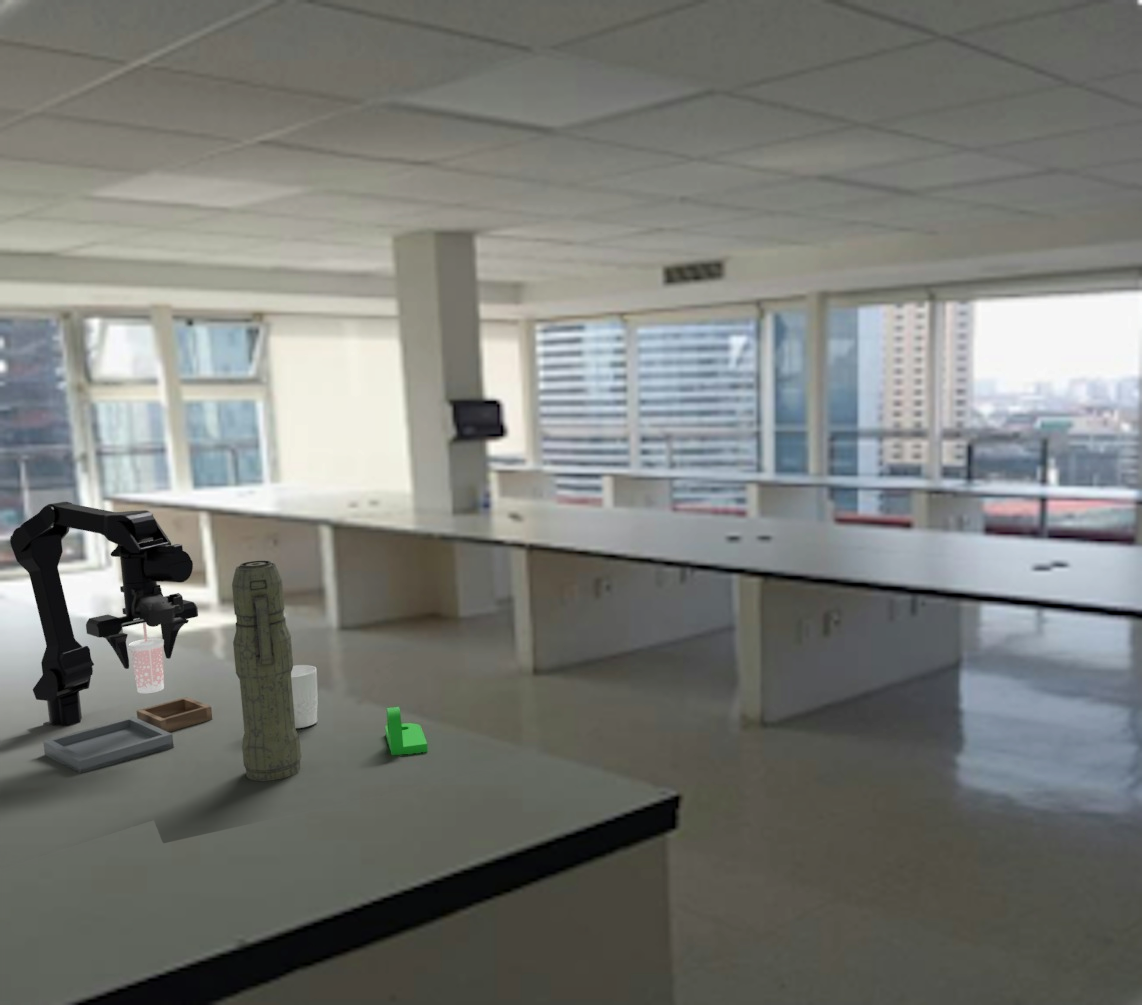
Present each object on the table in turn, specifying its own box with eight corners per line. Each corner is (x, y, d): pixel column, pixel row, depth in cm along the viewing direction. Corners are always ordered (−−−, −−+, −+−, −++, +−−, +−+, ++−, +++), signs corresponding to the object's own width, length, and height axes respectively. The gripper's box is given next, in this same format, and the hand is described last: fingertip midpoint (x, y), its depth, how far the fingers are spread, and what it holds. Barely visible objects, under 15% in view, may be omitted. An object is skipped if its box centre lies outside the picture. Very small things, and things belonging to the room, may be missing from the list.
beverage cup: (165, 682, 197) (158, 610, 195) (171, 690, 191) (164, 616, 190) (130, 688, 194) (123, 615, 192) (135, 696, 188) (128, 621, 186)
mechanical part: (428, 755, 175) (424, 709, 174) (392, 759, 173) (388, 713, 172) (419, 732, 186) (416, 688, 185) (385, 736, 185) (382, 693, 184)
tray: (44, 754, 183) (43, 741, 183) (134, 729, 195) (133, 716, 194) (80, 775, 172) (79, 761, 172) (173, 747, 184) (172, 733, 183)
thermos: (254, 794, 161) (234, 572, 156) (239, 771, 171) (219, 561, 166) (311, 781, 165) (293, 564, 160) (292, 759, 175) (275, 554, 171)
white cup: (309, 730, 189) (304, 677, 188) (269, 729, 191) (264, 676, 190) (327, 716, 197) (323, 665, 196) (289, 715, 198) (285, 664, 197)
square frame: (137, 723, 198) (136, 710, 198) (187, 709, 205) (186, 696, 205) (161, 733, 191) (160, 720, 191) (212, 719, 198) (211, 706, 198)
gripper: (108, 594, 178) (117, 683, 180) (209, 575, 191) (216, 658, 193) (80, 587, 185) (89, 672, 187) (179, 569, 199) (187, 649, 201)
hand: (147, 663), depth 192 cm, fingers closed on beverage cup, 8 cm apart
